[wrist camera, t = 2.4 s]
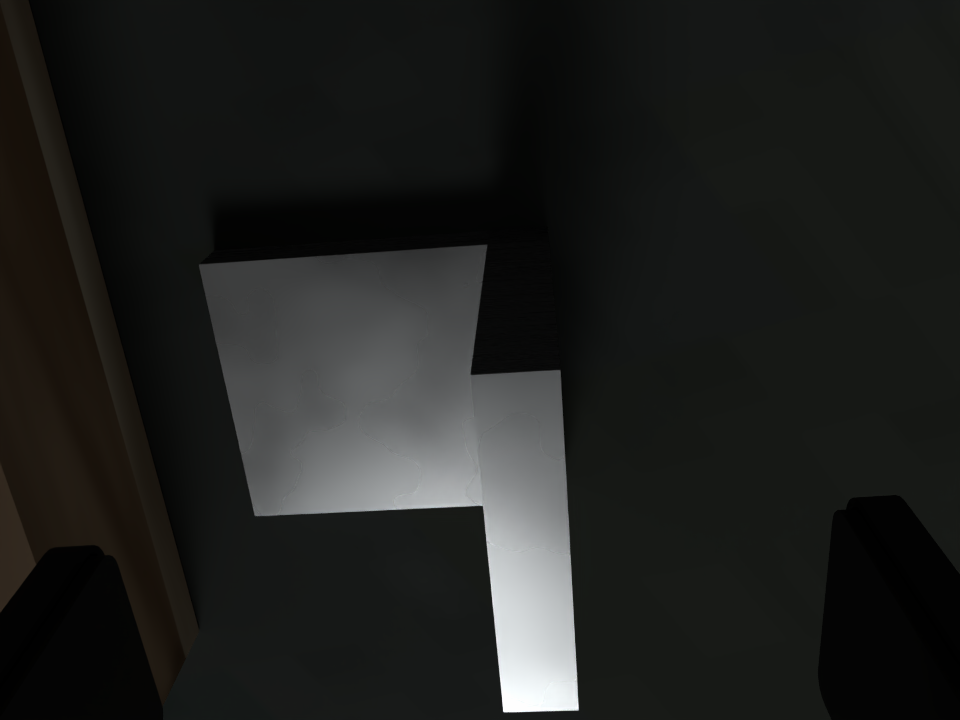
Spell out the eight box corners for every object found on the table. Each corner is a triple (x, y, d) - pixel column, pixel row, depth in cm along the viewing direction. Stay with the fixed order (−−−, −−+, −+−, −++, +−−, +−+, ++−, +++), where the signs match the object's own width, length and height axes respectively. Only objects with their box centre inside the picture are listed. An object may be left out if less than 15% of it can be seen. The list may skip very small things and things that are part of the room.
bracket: (547, 226, 18) (559, 369, 12) (561, 477, 21) (578, 710, 14) (214, 249, 19) (52, 399, 12) (266, 491, 21) (155, 722, 15)
